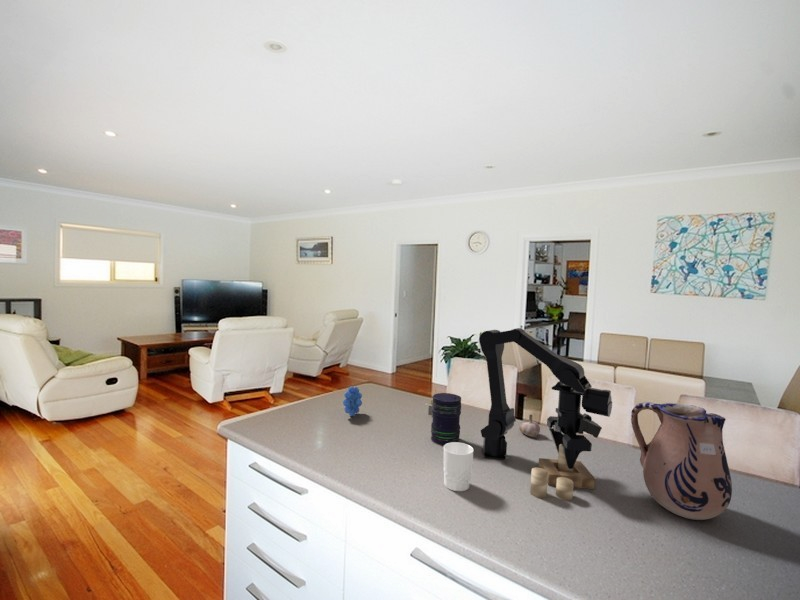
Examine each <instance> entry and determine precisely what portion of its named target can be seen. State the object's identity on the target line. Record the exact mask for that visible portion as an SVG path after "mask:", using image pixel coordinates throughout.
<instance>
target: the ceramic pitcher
mask: <svg viewBox="0 0 800 600" xmlns="http://www.w3.org/2000/svg"><path fill="white" fill-rule="evenodd" d="M644 410H645V411H646V410H649V411H652V412H653V413H655V414H656V415H657V417H658V420H659V422H660V423H661V424H660V425H659V427H658V429H657V432H656V433H655V434H654V436H653V438H652V439H651V441H650V442H649V443H647V442H646V441H645V437H644V435H643V433H642V430H641V428H640V425H639V413H641V412H642V411H644ZM630 417H631V418H630V421H631V428H632V430H633V432H634V437H635V439H636V441H637V443H638V445H639V446H638V447H639V450H640V459H639V462H640V465H641V467H642V474H643V479H644V484H645V487H646V488H647V491H648V493H650V495H651V497H652V498H653V499H654V500H655V501H656V503H657V504H659V505H660V506H661V507H663V508H664V509H666V510H667V511H668V512H671V513H672V514H675V516H679V517H681V518H684V519H689V520H696V521H703V520H704V521H705V520H711V519H713V518H715V517H717V516H719V515H721V514H722V513H724V512H725V511H726V510H727V508H728V507H729V505H730V503H731V500H732V495H733V494H732V493H733V486H732V477H731V472H730V467H729V464H728V459H727V455H726V450H725V446H724V442H723V441H724V439H723V429H724V425H725V422H726V421H727V418H726V417H724V416H722V415H720V414H717V413H708V412H707V410H706V409H705V408H703V407H700V406H696V405H693V404H692V405H691V404H690V405H689V404H680V403H673V402H672V403H671V402H669V403H668V402H667V403H654V402H648V401H646V402H645V401H643V402H639V403H637V404H636V405H635V406H634V407H633V408H632V410H631V415H630Z"/></svg>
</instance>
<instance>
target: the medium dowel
mask: <svg viewBox="0 0 800 600" xmlns="http://www.w3.org/2000/svg"><path fill="white" fill-rule="evenodd" d="M530 474H531V475H530V487H529V488H530V489H529V493H530V495H531V496H533V497H535V498H537V499H546V498H547V494H548V484H547V480H548V472H547V471H546V470H545V469H542V468H538V467H532V468H531V473H530Z"/></svg>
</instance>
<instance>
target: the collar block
mask: <svg viewBox="0 0 800 600" xmlns="http://www.w3.org/2000/svg"><path fill="white" fill-rule="evenodd" d="M537 465H538V467H537V468H542V469H545V470H546V471H547V472H548V480H547V486H553V487H556V483H557V478H558V477H565V478H568V479H570V480H572V481H573V488H579V489H590V490H591V489H592V490H595V481H596V480H595V479H596V478H595V476H594V475H593V474H592V473H591V472H590V470H588V469H587V466H585V465H584V463H583V462H582V461H580V460H576V462H575V464H574V467H573V473H572V472H559V471H558V458H556V459H555V458H541V457H539V458H538V463H537Z"/></svg>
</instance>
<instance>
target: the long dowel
mask: <svg viewBox="0 0 800 600" xmlns="http://www.w3.org/2000/svg"><path fill="white" fill-rule="evenodd" d="M557 457H558V458H557V460H558V471H559V472H572V473H573V469H569V468H568V466H567V463H566V459H565V455H564V452H563V448H562V445H561V444H560V445H559V454H558V456H557Z"/></svg>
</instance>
